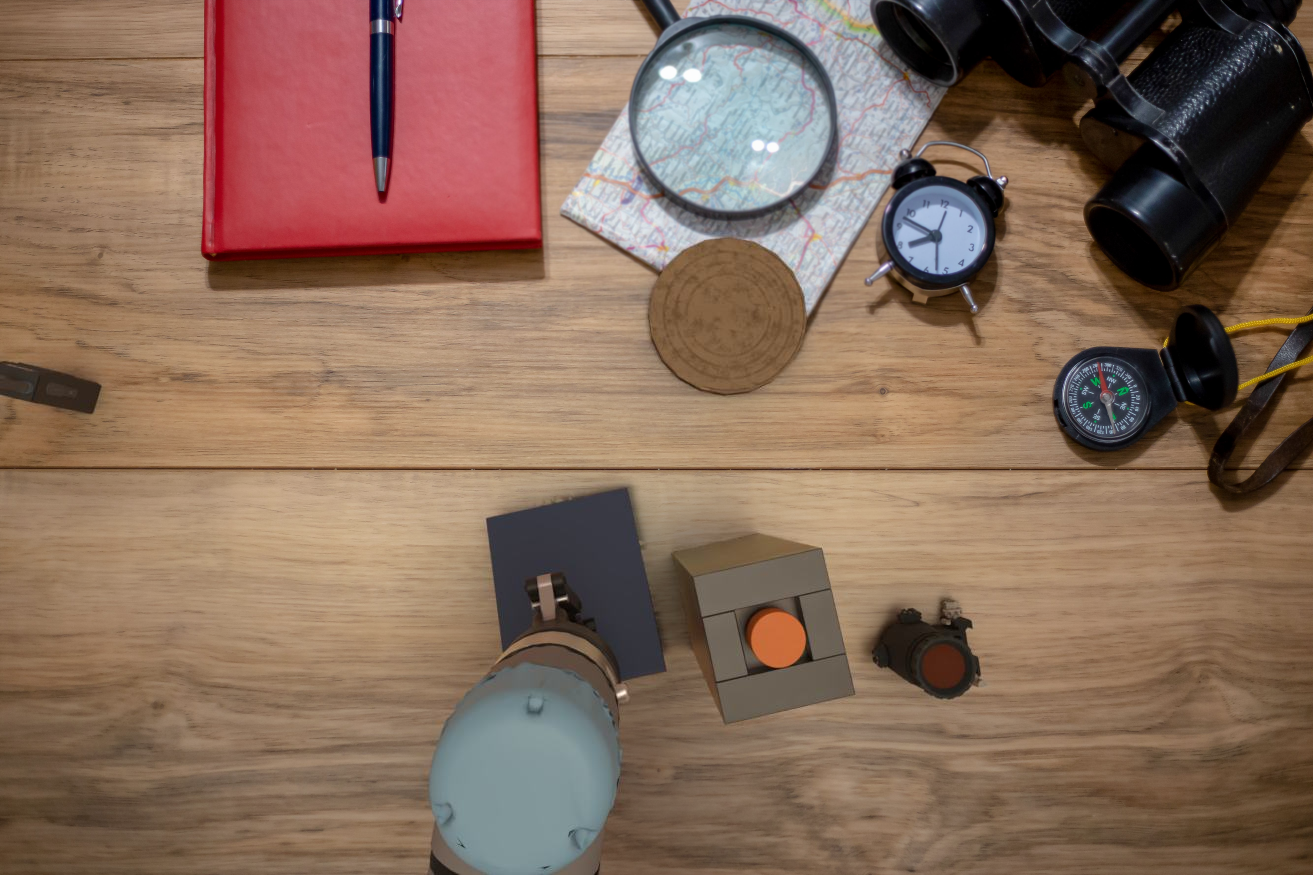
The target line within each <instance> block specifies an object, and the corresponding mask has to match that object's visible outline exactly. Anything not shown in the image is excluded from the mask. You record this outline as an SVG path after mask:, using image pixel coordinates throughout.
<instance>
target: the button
mask: <svg viewBox="0 0 1313 875" xmlns="http://www.w3.org/2000/svg"><path fill="white" fill-rule="evenodd" d="M746 639H747V643H748V645H749V647H750V649H751V651H752V652H753V653H754V654H755V656H756V657H757V658H758V659H759V660H760V661H761V662H762V663H764V664H766V665H767V666H770V667H774V668H783V667H787V666H789V665H792V664H793V663H795V662H796V661H797V660H798V659H799V658H800V657H801V655H802V653H803V651H804V649H805V645H806V635H805V631H804V629H803V626H802V625H801V623H800V622H799V621H798V620H797V619H796V618H795V617H794V616H792V615H791V614H789V613H788V612H786V611H785V610H782V609H779V608H766V609H763V610H760V611H759V612H757V613H756V614H755V615H754V616H753V617H752V618H751V620H750V621H749V623H748V626H747V630H746Z"/></svg>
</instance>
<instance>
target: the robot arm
mask: <svg viewBox="0 0 1313 875" xmlns="http://www.w3.org/2000/svg"><path fill="white" fill-rule="evenodd" d="M524 587H525V591H526V592H527V593H528V596H529V598H530V600H531V605H532V609H533V610H536V611H538V613H536V614H535V616H534V618H533V627H531V628H530V629H528V630H527V631H525V632H524V633H522V634H521V635H520V636H519V637H518V638H516V639H515V640H514V641H513V643H512V644H511V645H510V646H509V647H508V649H507V650H506V651H505V652H504V653H503V652H502V654H501V655H500V656H499V657H498V659H497V660H496V661H495V663H494V664H493V665H492V667H491V669H490V670H488V672H486V674H485V675H484V676H483V677H482V678H481V679H480V681H478V682H477V683H475V684H474V685H473V686H472V689H470V690H468V691H466V693H465V695H464V696H463V697H462V699H460V700H459V702H457V703H456V705H455V708H454V711H453V712H452V714H451V715H450V716H449V717H447V719H446V720H445V723H444V725H443V727H442V729H441V731H440V734H439V738H438V740H437V741H438V742H437V745H436V747H435V750H434V752H433V756H432V759H431V763H430V768H429V774H428V797H429V803H430V807H431V813H432V815H433V818H434V822H433V828H432V833H431V840H430V849H431V850H430V855H429V864H428V869H427V874H426V875H600V874H599V873H600V868H601V856H602V853H603V845H604V840H605V834H606V830H607V829H606V828H607V822H608V816H609V813H610V812H612V811H613V808H614V805H615V801H616V797H617V793H618V786H619V780H620V774H621V766H622V759H623V758H622V754H623V753H622V751H623V750H622V749H623V748H622V746H621V744H620V742H619V735H620V731H619V726H620V719H621V718H620V709H621V704H624V703H627V702H629V700H630V699H631V689H630V687H629V685H628V684H626V683H625V682H623V681H621V673H620V668H619V665H618V662H617V659H616V657H615V655H614V653H613V651H612V650H611V648H610V647H609V646H608V644H607V643H606V642H605V641H604V640H603V639H602V638H601V637H600V636H599V635H598V634H596V633H597V631H596V625H595V620H594V617H591V618H586V619H582V620H581V618H580V615H576V614H577V613H581V608H582V603H581V601H580V600H579V598H578V596H577V595H576V594H575V592H574V591H573V590H572V589H571V588H570V587H569V585H568V584H567V580H566V576H564V574H563V572H562V571H560V572H555V573H551V574H546V575H541V576H537V577H533V578H528V579H526V585H524Z"/></svg>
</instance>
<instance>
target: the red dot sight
mask: <svg viewBox="0 0 1313 875" xmlns="http://www.w3.org/2000/svg"><path fill="white" fill-rule="evenodd" d="M942 604H943V609H942V615H940V616H939V621H940V623H941V624H929V623H928V622H926V621H924V620H922V619H923V616H922V614H923V613H922V612H921V611H919V610H917V609H916V608H913V607H909V608H907V609H906V608H903V609H901V611H900V612H899V613H897V615H896V617H897V622H895V623H894V624H892V625H890V626H888V627H887V628H886V629H885V630H884V632H883V633H882V634H881V635H882V636H881V637H880V643H875V645H874V646H873V649H872V650H871V655H874V656H872V661H873V663H874V664H875V665H877V667H878V668H880V669H883V668H884V669H887V668H888V669H890V670H891V671H892V672H894V673H895V674H896V675H897V676H899V677H900V678H902V679H903V680H905V681H906V682H907V683H909V684H911V685H914V686H916V687H918V688H920V689H921V690H923V692H924V693H926V694H927V695H929V696H930V697H934V698H936V699H938V700H943V699H945V700H948V701H950V700H953V699H956V698H960V697H962V696H963V695H964V694H965V693H966V692H969V690H970V689H971V687H976V688H982V687H983V688H984V687H988V686H989V683H988V682H987V681H986V680H984V679H982V678H980V677H981V676H982V672H981V666H980V659H979V656H977V655H975V654H973V652H972V649H971V647H970V646H969V642H968V636H967V629H971V630H974V627H973V620H972V619H970V618H966V617H963V616H961V615H962V614H963V610H962V607H960V601H959V600H957V599H949V600H945V601H943V602H942Z"/></svg>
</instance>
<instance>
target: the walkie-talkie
mask: <svg viewBox="0 0 1313 875" xmlns="http://www.w3.org/2000/svg"><path fill="white" fill-rule="evenodd" d="M101 390H102V384H100V383H98V382H95V381H91V380H87V379H84V378H79V377H76V376H75V375H73V374H69V373H65V372H62V371H57V370H54V369H50V368H46V367H42V366H38V365H34V364H30V363H24V362H21V361H18V362H15V361H8V360H2V361H1V360H0V396H3V397H7V398H10V399H14V400H20V401H23V402H28V403H31V404H37V405H43V406H48V407H54V408H58V409H62V410H63V409H64V410H69V411H72V412H73V411H74V412H77V413H82V414H87V415H93V414H94V413H95V409H96V406H97V402H98V400H99V396H100V393H101Z"/></svg>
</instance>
